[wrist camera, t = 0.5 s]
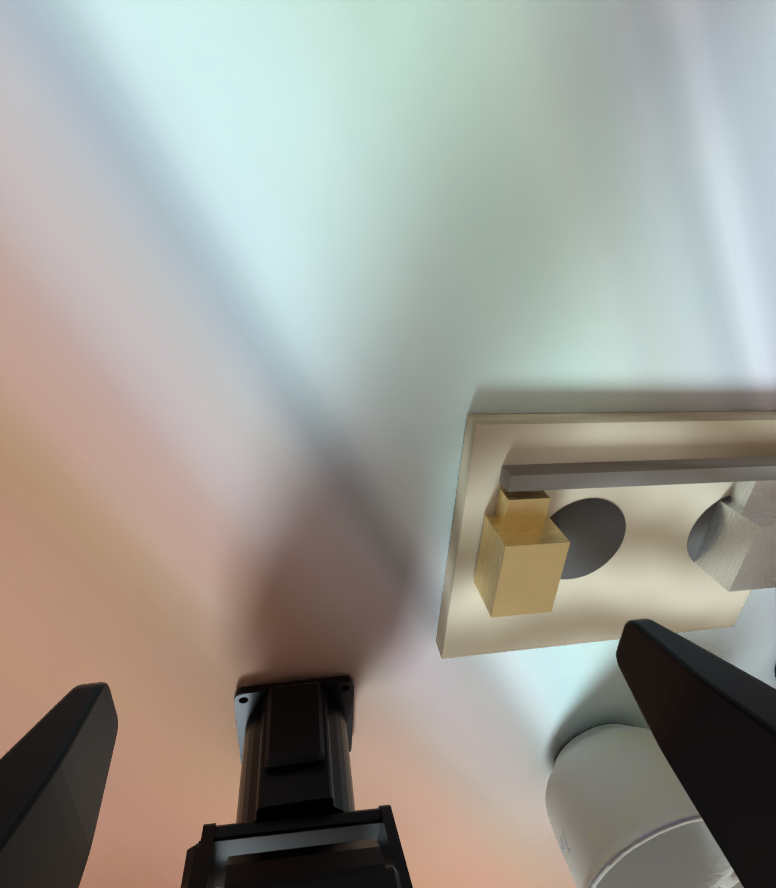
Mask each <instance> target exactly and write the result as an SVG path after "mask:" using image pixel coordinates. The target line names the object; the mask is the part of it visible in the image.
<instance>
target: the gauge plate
mask: <svg viewBox="0 0 776 888" xmlns="http://www.w3.org/2000/svg"><path fill="white" fill-rule="evenodd" d="M765 480H776V411H721V412H636V413H551V414H467V421H466V428H465V435H464V443H463V450H462V457H461V464H460V472H459V479H458V486H457V493H456V501H455V508H454V515H453V522H452V530H451V537H450V544H449V551H448V559H447V566H446V573H445V580H444V587H443V595H442V602H441V609H440V616H439V624H438V631H437V638H436V643H437V646H438V649H439V652H440V655H441V658H442V659H443V658H452V657H461V656H470V655H479V654H488V653H497V652H506V651H515V650H524V649H533V648H543V647H552V646H561V645H570V644H579V643H588V642H597V641H606V640H615V639H620V638H621V634H622V631H623V628H624V625H625V623H626V622H627V621H629V620H635V619H644V618H646V619H651V620H653V621H655V622H657V623H658V624H660V625H662V626H664V627H666V628H667V629H669V630H671V631H673V632H674V633H678V632H687V631H696V630H705V629H714V628H723V627H732V626H734V624H735V622H736V620H737V618H738V616H739V614H740V612H741V610H742V608H743V606H744V604H745V602H746V600H747V598H748V596H749V594H750V592H751V590H742V591H731V592H728V591H727V590H726V589H725V588H724V587H723V586H721V585H720V584H719V583H718V582H717V581H716V580H714V579H713V578H712V577H711V576H710V575H709V574H707V573H706V572H705V571H704V570H703V569H702V568H700V567H699V566H698V565H697V564H696V563H695V562H694V561H695V559H696V557H697V554H698V552H699V549H700V547H701V545H702V542H703V540H704V537H705V535H706V532H707V530H708V528H709V525H710V523H711V520H712V518H713V515H714V513H715V511H716V508H717V506H718V503H719V501H724V500H728V499H729V496H730V495H729V494H730V491H731V489H732V487H733V484H734V482H743V481H765ZM501 488H505V489H506V490H507V491H508V492H517V491H540V490H544V491H545V493H546V494H547V495H548V496H549V497H550V498H551V499H550V503H549V507H548V511H547V516H548V517H549V518H550V519H551V520H552V521H553V523H554V524H555V525H556V526H557V527H558V528H559V530H560V531H561V532H562V533H563V534H564V535H565V537H566V538H567V539H568V540H569V541H570V545H569V549H568V552H567V556H566V560H565V564H564V567H563V571H562V575H561V578H560V582H559V586H558V590H557V593H556V597H555V601H554V604H553V608H552V612H545V613H534V614H524V615H514V616H503V617H493V618H491V616H490V614H489V612H488V610H487V608H486V606H485V604H484V602H483V600H482V598H481V596H480V594H479V592H478V590H477V588H476V586H475V584H474V577H475V571H476V565H477V559H478V553H479V548H480V542H481V536H482V530H483V524H484V519H485V515H493V514H495V513H496V507H497V502H498V496H499V491H500V489H501Z"/></svg>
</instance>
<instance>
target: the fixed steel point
mask: <svg viewBox="0 0 776 888" xmlns="http://www.w3.org/2000/svg"><path fill="white" fill-rule="evenodd" d="M729 495H730V496H729V499H728V500H724V501H719V503H718V506H717V508H716V511H715V513H714V515H713V518H712V520H711V523H710V525H709V528H708V530H707V532H706V535H705V537H704V540H703V542H702V545H701V547H700V549H699V552H698V554H697V557H696V559H695V561H694V562H695V563H696V564H697V565H698V566H699V567H700V568H702V569H703V570H704V571H705V572H706V573H707V574H709V575H710V576H711V577H712V578H713V579H714V580H716V581H717V582H718V583H719V584H720V585H721V586H723V587H724V588H725V589H726V590H727V591H728V592H731V591H742V590H752V589H763V588H773V587H776V480H765V481H743V482H734V484H733V487H732V489H731V491H730V494H729Z"/></svg>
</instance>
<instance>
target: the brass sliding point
mask: <svg viewBox="0 0 776 888" xmlns="http://www.w3.org/2000/svg"><path fill="white" fill-rule="evenodd" d="M550 499H551V498H550V497H549V496H548V495H547V494H546V493H545V491H544V490H540V491H517V492H508V491H507V490H506V489H505V488H501V489H500V491H499V496H498V502H497V507H496V513H495V514H493V515H485V519H484V524H483V530H482V536H481V542H480V548H479V553H478V559H477V565H476V571H475V577H474V584H475V586H476V588H477V590H478V592H479V594H480V596H481V598H482V600H483V602H484V604H485V606H486V608H487V610H488V612H489V614H490V616H491V618H493V617H503V616H514V615H524V614H534V613H545V612H552V608H553V604H554V601H555V597H556V593H557V590H558V586H559V582H560V578H561V575H562V571H563V567H564V564H565V560H566V556H567V552H568V549H569V545H570V541H569V540H568V539H567V538H566V537H565V535H564V534H563V533H562V532H561V531H560V530H559V528H558V527H557V526H556V525H555V524H554V523H553V521H552V520H551V519H550V518H549V517H548V516H547V511H548V507H549V503H550Z"/></svg>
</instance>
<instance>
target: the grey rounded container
mask: <svg viewBox="0 0 776 888" xmlns="http://www.w3.org/2000/svg"><path fill="white" fill-rule="evenodd" d="M546 808H547V813H548V817H549V820H550V823H551V826H552V829H553V831H554V834H555V837H556V839H557V842H558V844H559V847H560V849H561V851H562V854H563V856H564V858H565V860H566V863H567V865H568V867H569V870H570V872H571V874H572V876H573V879H574V881H575V883H576V885H577V887H578V888H718V887H719V886H720V887H722V888H731V887H733V886H734V885H735V884H736V883H738V882H739V879H738V877H737V876H736V874H735V872H734V871H733V869H732V867H731V866H730V864H729V862H728V861H727V859H726V857H725V856H724V854H723V853H722V851H721V849H720V848H719V846H718V844H717V843H716V841H715V839H714V838H713V836H712V834H711V833H710V831H709V829H708V828H707V826H706V824H705V823H704V821H703V819H702V818H701V816H700V814H699V813H698V811H697V810H696V808H695V806H694V805H693V803H692V801H691V800H690V798H689V796H688V795H687V793H686V791H685V790H684V788H683V786H682V785H681V783H680V781H679V780H678V778H677V776H676V775H675V773H674V772H673V770H672V768H671V767H670V765H669V763H668V762H667V760H666V758H665V756H664V755H663V753H662V751H661V749H660V748H659V746H658V744H657V742H656V740H655V738H654V736H653V734H652V732H651V730H650V729H646V728H642V727H636V726H628V725H624V724H605V725H600V726H596V727H593V728H591V729H589V730H587V731H585V732H583V733H581V734H580V735H578V736H576V737H575V738H574V739H572V740H571V741H570V742H569V743H568V744H567V745H566V746H565V747H564V748H563V749H562V751H561V752H560V753H559V755H558V757H557V759H556V761H555V763H554V766H553V771H552V773H551V775H550V777H549V780H548V784H547V788H546Z"/></svg>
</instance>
